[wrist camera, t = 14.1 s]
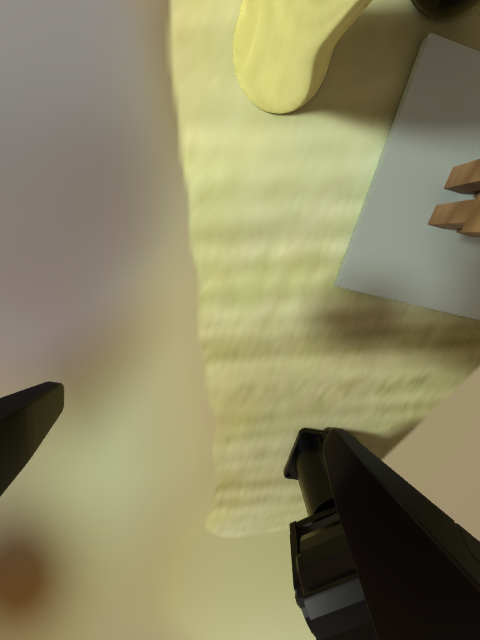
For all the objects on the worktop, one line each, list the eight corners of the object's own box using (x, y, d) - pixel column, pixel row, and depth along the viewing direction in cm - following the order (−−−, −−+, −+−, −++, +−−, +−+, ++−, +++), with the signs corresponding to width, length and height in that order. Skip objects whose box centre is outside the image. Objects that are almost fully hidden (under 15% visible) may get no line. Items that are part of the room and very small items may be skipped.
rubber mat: (477, 319, 22) (484, 321, 21) (334, 285, 20) (337, 286, 20) (600, 107, 17) (613, 102, 16) (422, 40, 15) (430, 32, 15)
